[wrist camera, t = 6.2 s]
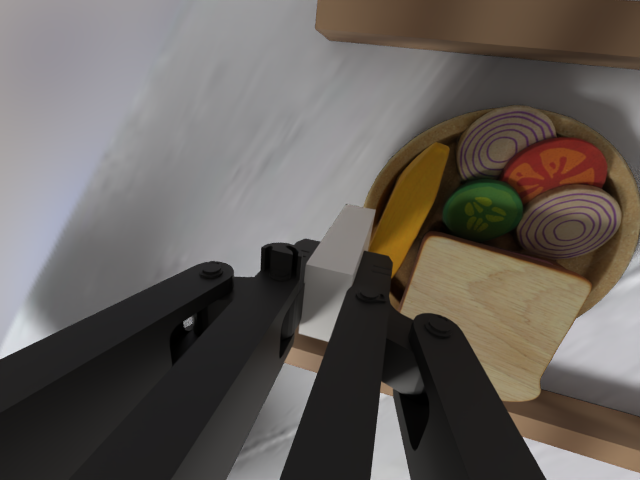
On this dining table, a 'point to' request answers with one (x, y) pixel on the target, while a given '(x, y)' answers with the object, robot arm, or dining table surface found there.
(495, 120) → the toy sandwich meal
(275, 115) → the dining table surface
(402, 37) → the open-ended frame
